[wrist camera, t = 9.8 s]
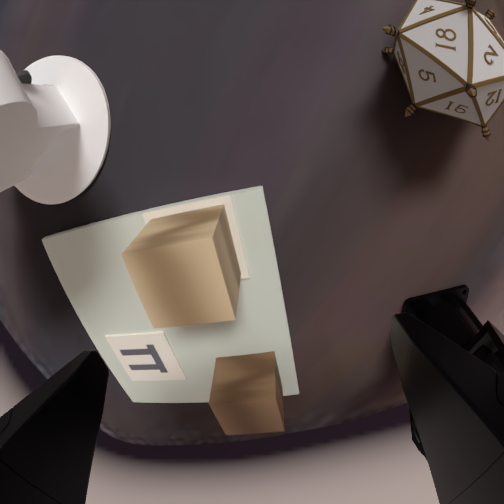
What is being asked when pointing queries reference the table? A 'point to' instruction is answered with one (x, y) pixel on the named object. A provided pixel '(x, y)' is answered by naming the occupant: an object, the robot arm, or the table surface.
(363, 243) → the table surface
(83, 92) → the white rounded piece
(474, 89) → the game die
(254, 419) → the walnut block
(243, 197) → the board
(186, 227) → the oak block
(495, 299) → the table surface
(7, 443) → the robot arm
